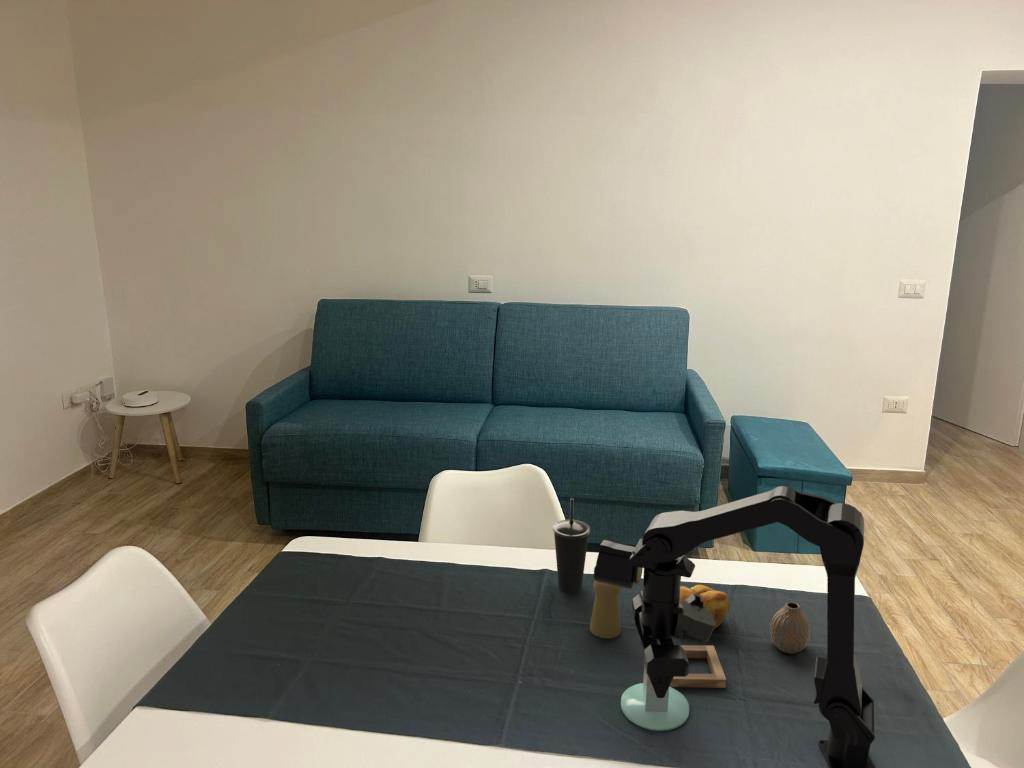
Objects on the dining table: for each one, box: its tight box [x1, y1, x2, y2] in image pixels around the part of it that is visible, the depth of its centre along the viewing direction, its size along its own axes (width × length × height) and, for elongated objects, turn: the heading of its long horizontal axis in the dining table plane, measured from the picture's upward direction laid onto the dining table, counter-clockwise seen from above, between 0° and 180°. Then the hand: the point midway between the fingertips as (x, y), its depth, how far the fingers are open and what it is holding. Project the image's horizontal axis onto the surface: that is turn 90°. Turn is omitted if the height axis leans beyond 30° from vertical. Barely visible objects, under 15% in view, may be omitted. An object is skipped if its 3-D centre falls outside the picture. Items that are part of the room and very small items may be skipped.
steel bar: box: [642, 665, 669, 712], centre depth 129 cm, size 4×4×9 cm
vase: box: [769, 601, 811, 655], centre depth 145 cm, size 7×7×9 cm
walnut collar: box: [669, 644, 727, 689], centre depth 139 cm, size 10×10×2 cm
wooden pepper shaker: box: [589, 579, 622, 639], centre depth 150 cm, size 6×6×11 cm
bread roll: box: [680, 583, 730, 630], centre depth 153 cm, size 13×10×8 cm
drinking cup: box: [552, 498, 591, 594], centre depth 163 cm, size 8×8×20 cm
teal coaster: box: [620, 682, 690, 732], centre depth 130 cm, size 11×11×1 cm
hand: (655, 678), depth 129 cm, fingers open, 9 cm apart
